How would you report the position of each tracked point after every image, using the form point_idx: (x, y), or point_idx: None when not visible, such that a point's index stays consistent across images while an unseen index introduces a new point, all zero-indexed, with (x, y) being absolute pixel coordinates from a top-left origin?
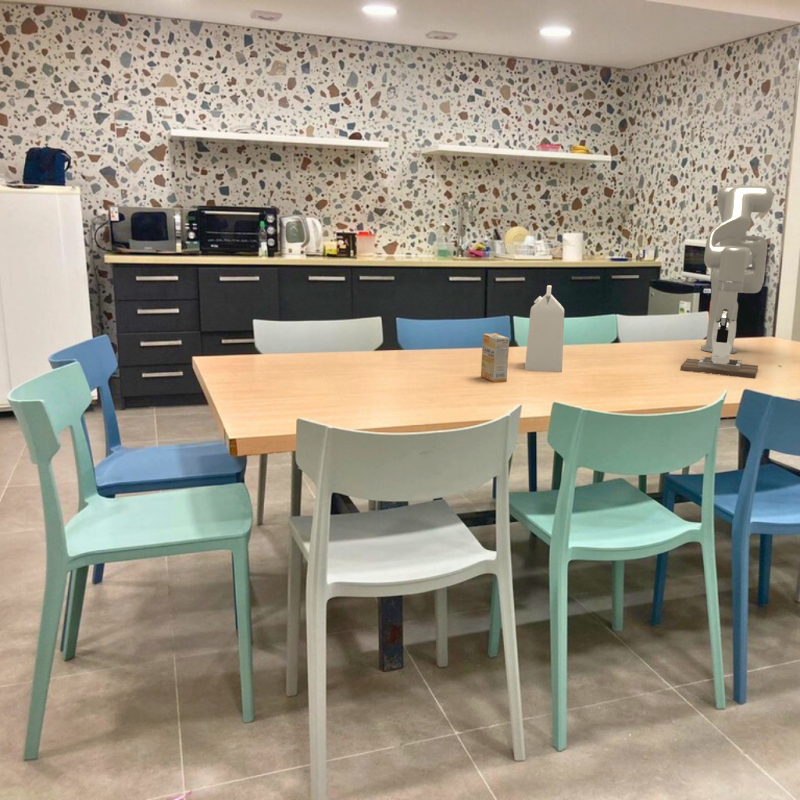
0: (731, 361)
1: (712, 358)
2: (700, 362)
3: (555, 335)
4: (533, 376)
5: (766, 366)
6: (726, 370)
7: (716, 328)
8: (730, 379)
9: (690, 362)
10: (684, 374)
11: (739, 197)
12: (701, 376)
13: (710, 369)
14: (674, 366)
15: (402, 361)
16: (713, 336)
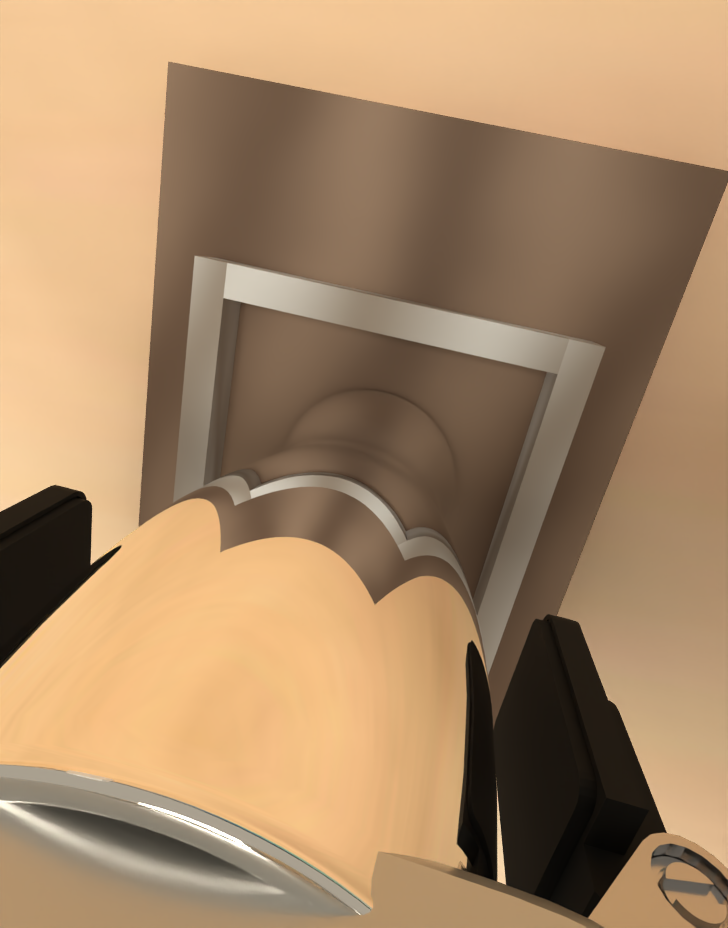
0: (480, 599)
1: (325, 418)
2: (195, 277)
3: None
4: None
5: (688, 835)
6: (146, 489)
7: (52, 600)
8: (23, 479)
9: (437, 193)
10: (14, 119)
11: None
12: (11, 273)
13: (151, 365)
14: (410, 14)
15: None
16: (202, 487)
